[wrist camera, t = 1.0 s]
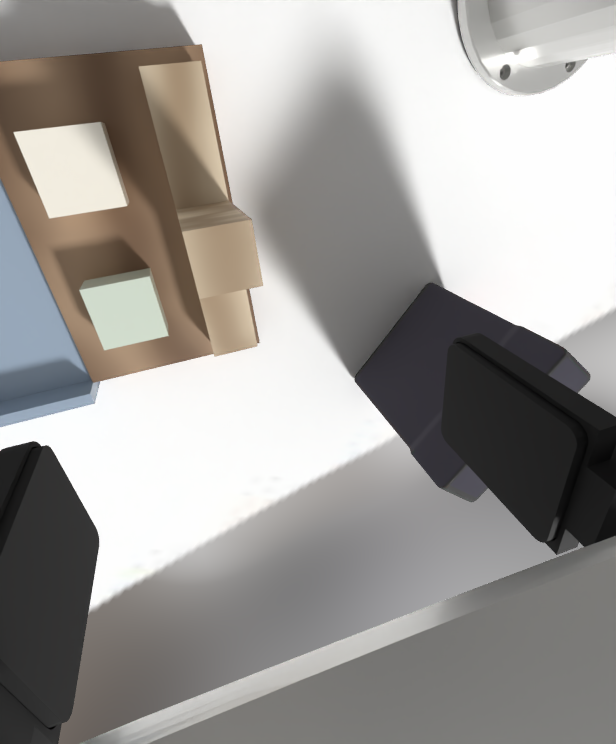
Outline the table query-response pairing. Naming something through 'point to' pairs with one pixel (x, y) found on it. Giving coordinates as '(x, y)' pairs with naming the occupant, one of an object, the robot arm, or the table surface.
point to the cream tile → (73, 168)
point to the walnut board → (111, 226)
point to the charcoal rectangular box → (428, 370)
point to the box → (33, 335)
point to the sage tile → (125, 308)
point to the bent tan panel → (204, 203)
